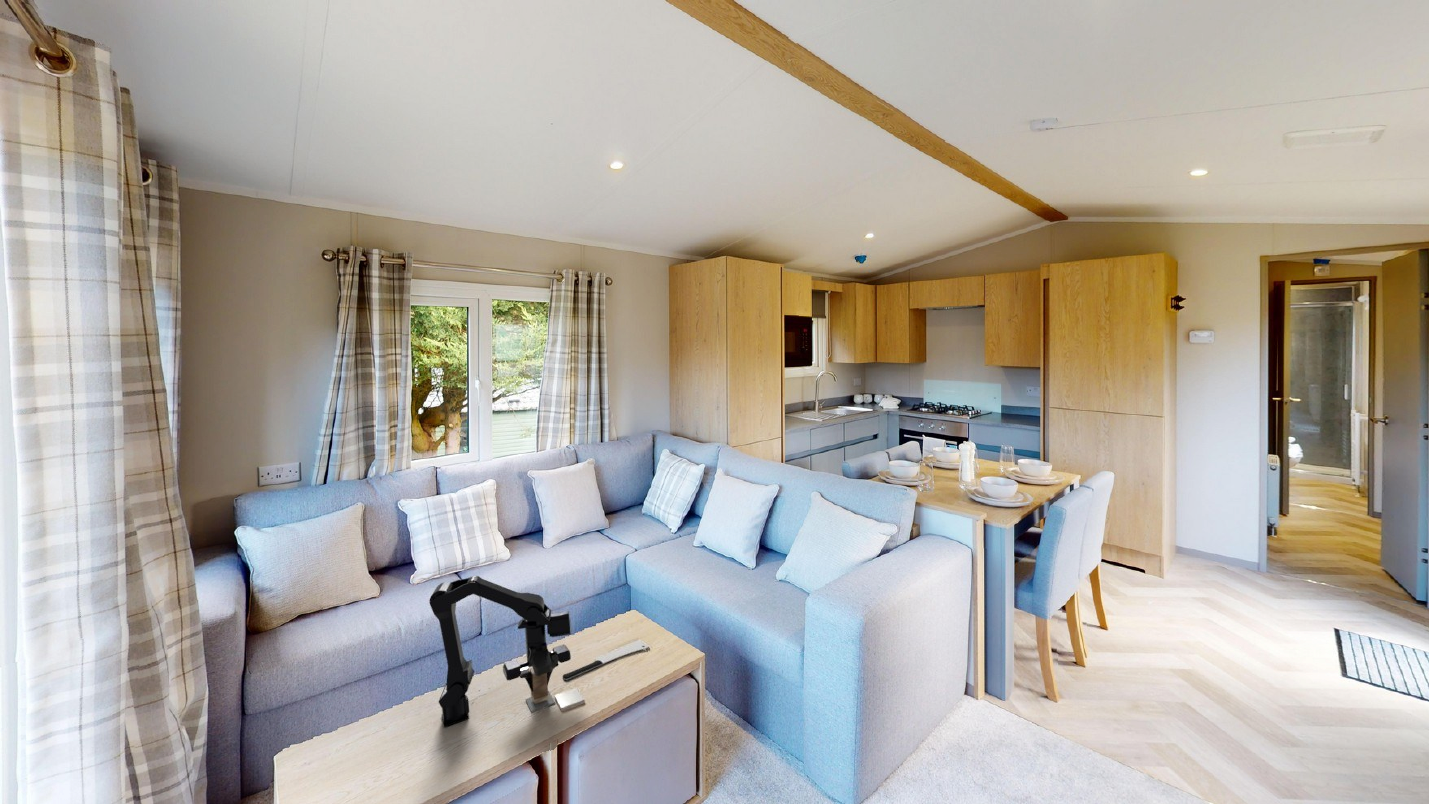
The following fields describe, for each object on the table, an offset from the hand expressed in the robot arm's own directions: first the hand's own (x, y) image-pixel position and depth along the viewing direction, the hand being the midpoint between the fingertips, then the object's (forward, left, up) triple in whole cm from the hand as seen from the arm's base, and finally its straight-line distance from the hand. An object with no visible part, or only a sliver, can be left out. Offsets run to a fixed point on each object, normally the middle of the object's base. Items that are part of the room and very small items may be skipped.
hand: (539, 688), depth 163 cm
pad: (0, 0, -4) cm, 4 cm away
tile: (+8, -1, -4) cm, 9 cm away
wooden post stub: (0, 0, -3) cm, 3 cm away
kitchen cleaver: (+25, +11, -5) cm, 27 cm away
